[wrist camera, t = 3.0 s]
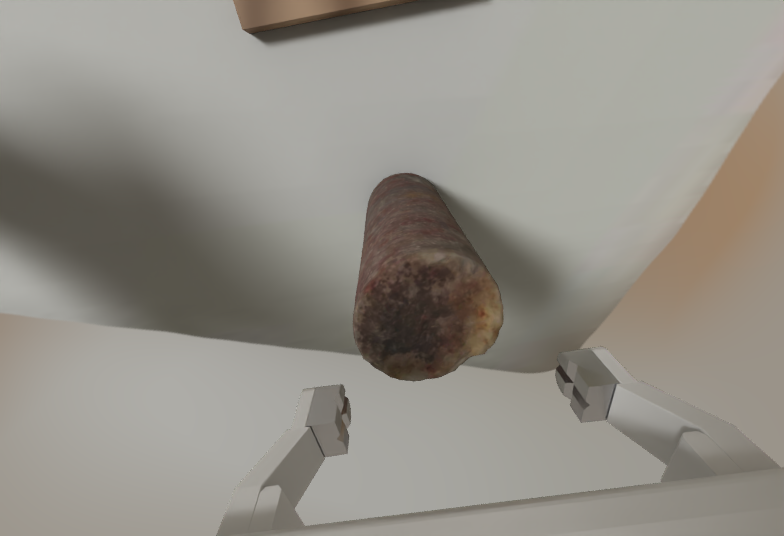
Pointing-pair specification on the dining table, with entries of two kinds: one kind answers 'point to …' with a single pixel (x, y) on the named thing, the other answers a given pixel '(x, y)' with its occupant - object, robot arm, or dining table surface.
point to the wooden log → (420, 285)
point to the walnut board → (299, 11)
